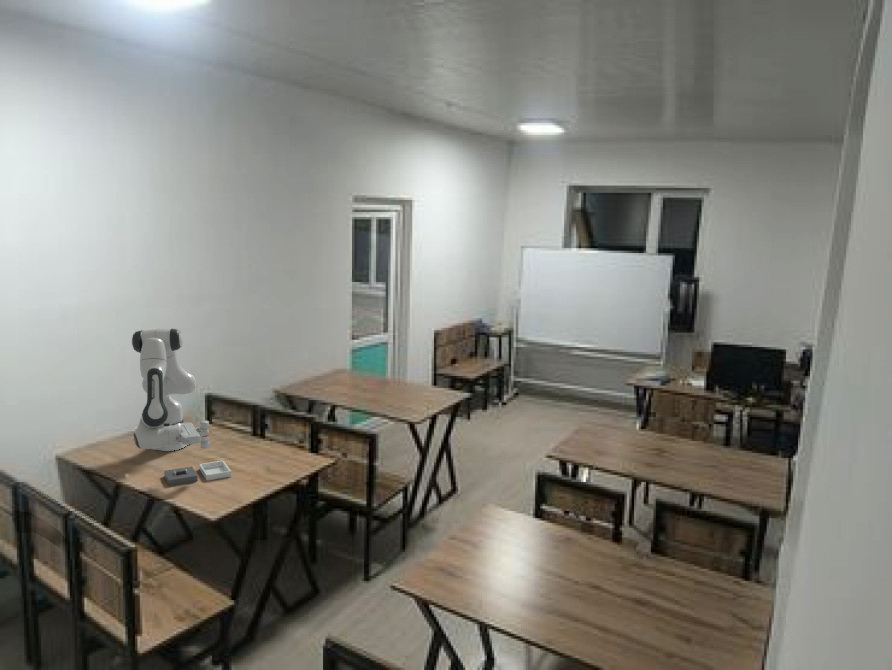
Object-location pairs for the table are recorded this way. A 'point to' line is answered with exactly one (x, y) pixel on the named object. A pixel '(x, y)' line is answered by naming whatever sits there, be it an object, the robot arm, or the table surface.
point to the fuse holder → (180, 476)
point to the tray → (215, 470)
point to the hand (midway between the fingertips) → (206, 431)
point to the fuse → (205, 439)
